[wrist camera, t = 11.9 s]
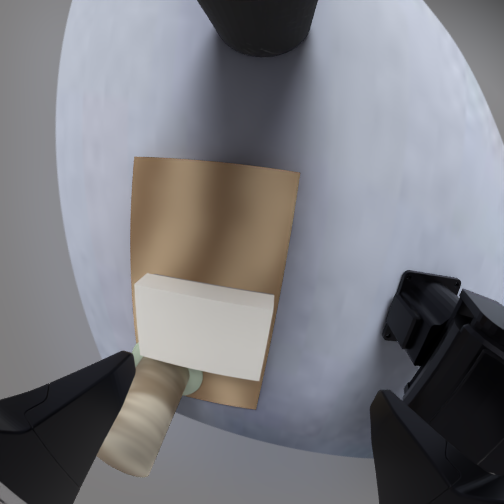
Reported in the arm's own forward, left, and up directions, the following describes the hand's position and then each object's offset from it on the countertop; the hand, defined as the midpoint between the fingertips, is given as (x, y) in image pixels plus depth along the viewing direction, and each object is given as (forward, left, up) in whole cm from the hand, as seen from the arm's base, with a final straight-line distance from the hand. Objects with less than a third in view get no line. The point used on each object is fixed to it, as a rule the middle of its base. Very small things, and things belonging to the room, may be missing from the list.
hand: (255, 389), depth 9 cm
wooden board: (+5, +4, -13) cm, 14 cm away
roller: (+8, +12, -12) cm, 18 cm away
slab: (+4, +4, -12) cm, 13 cm away
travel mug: (+3, -19, -13) cm, 23 cm away
